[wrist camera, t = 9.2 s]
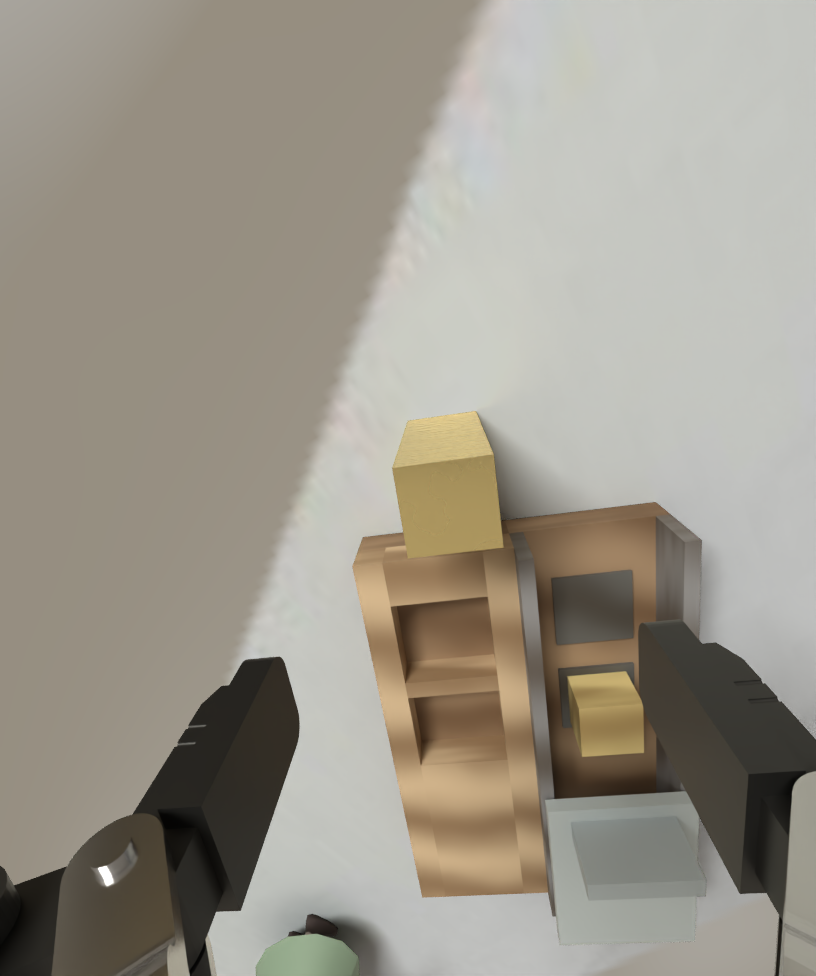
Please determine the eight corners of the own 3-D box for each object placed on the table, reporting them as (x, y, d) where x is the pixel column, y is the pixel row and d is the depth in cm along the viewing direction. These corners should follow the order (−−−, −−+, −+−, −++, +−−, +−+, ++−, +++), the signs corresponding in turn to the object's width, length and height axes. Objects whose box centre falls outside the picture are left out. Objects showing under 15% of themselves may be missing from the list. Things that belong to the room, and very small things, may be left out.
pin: (483, 476, 30) (503, 547, 20) (417, 484, 30) (408, 558, 21) (475, 411, 29) (493, 454, 19) (407, 420, 29) (392, 468, 20)
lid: (689, 927, 33) (724, 1012, 29) (557, 931, 34) (573, 1014, 30) (692, 790, 29) (734, 866, 25) (545, 799, 30) (561, 874, 26)
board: (656, 830, 38) (691, 911, 33) (424, 842, 40) (421, 921, 35) (655, 502, 30) (701, 540, 24) (362, 537, 32) (347, 579, 26)
